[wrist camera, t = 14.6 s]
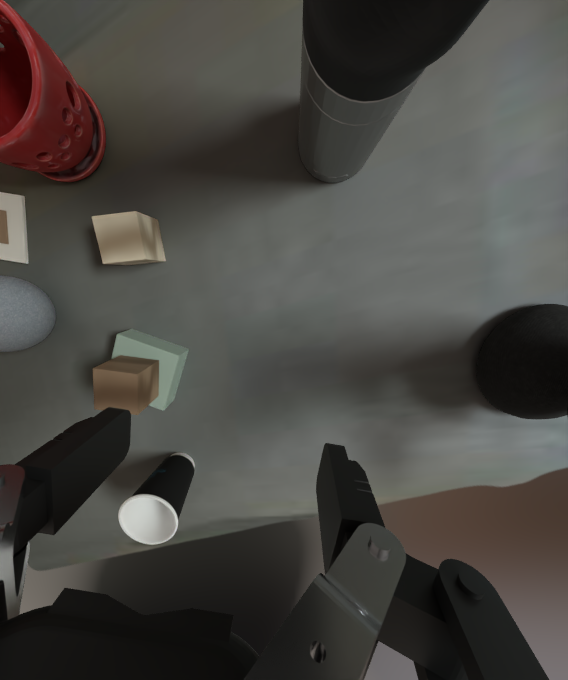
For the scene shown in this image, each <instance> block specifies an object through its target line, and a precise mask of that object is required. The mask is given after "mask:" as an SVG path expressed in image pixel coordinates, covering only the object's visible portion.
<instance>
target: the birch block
mask: <svg viewBox="0 0 568 680" xmlns="http://www.w3.org/2000/svg"><path fill="white" fill-rule="evenodd" d="M92 220H93V225H94V229H95V233H96V237H97V241H98V245H99V249H100V253H101V257H102V262H103V264H114V265H136V264H145V263H154V262H163V261H166V260H165V254H164V249H163V244H162V239H161V234H160V228H159V223H158V220H157V219H154V218H152V217H149V216H147V215H144V214H142V213H139V212H137V211H132V212H124V213H116V214H107V215H99V216H92Z"/></svg>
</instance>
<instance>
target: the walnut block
mask: <svg viewBox="0 0 568 680" xmlns="http://www.w3.org/2000/svg"><path fill="white" fill-rule="evenodd" d="M93 386H94V408H95V409H97V410H105V409H106V408H108V407H113V408H119V409H125V410H129V411H130V413H131V414H135V415H138V414H139V413H140V412H141V411H143V410H144V409H145V408H146V407H147V406H148V405H149V404H150V403H151V402H152V401H154V400H155V399H156V398H157V397H158V396H159V360H154V359H146V358H139V357H131V356H124V355H120V356H118V357H115V358H113V359H111V360H109V361H107V362H105V363H103V364H101V365H99V366H97V367H94V368H93Z"/></svg>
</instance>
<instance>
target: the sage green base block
mask: <svg viewBox="0 0 568 680" xmlns="http://www.w3.org/2000/svg"><path fill="white" fill-rule="evenodd" d="M188 350H189V349H187V348H185V347H182V346H179V345H176V344H173V343H171V342H168V341H165V340H162V339H159V338H156V337H154V336H151V335H148V334H145V333H142V332H140V331H137V330H134V329H130V330H127V331H124V332H121V333H118V334H117V336H116V341H115V345H114V350H113V354H112V359H113V358H115V357H118V356H120V355H124V356H131V357H139V358H146V359H154V360H159V396H158V397H157V398H156V399H155V400H154V401H152V402H151V403H150V404H149V406H152V407H155V408H157V409H160V410H163V411H164V410H165V409H166V408H167V407H168V406H169V405H170V404H171V402H172V401H173V400H174V398H175V395H176V392H177V388H178V385H179V381H180V378H181V374H182V371H183V368H184V364H185V361H186V357H187V354H188Z"/></svg>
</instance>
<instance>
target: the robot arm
mask: <svg viewBox="0 0 568 680" xmlns="http://www.w3.org/2000/svg"><path fill="white" fill-rule="evenodd" d="M488 1H489V0H303V30H302V57H301V61H302V63H301V88H300V113H299V136H298V147H299V153H300V158H301V160H302V162H303V165H304V166H305V168H306V169H307V170H308V172H309V173H310V174H312V175H313V176H314V177H315V178H317V179H319V180H321V181H325V182H330V183H336V182H342V181H344V180H347V179H349V178H351V177H352V176H354V175H355V174H356V173H357V172H358V171H359V170H360V169H361V168H362V167H363V165H364V163H365V162H366V160H367V159H368V157H369V156H370V154H371V153H372V151H373V150H374V148H375V147H376V145H377V144H378V142H379V141H380V139H381V137H382V136H383V134H384V133H385V131H386V130H387V128H388V127H389V125H390V123H391V122H392V120H393V119H394V117H395V116H396V114H397V112H398V111H399V109H400V108H401V106H402V105H403V103H404V102H405V100H406V98H407V97H408V95H409V94H410V92H411V90H412V89H413V87H414V86H415V84H416V82H417V81H418V79H419V78H420V76H421V75H422V73H423V71H424V70H425V68H426V67H427V66H428V65H430V64H432V63H433V62H435V61H436V60H438V59H439V58H440V57H441V56H443V55H444V54H445V53H446V52H447V51H448V50H449V49H451V48H452V46H453V45H454V44H455V43H456V42H457V41H458V40H459V39H460V37H461V36H462V35H463V34H464V32H465V31H466V30H467V28H468V27H469V26H470V25H471V23H472V22H473V21H474V19H475V18H476V17H477V15H478V14H479V13H480V11H481V10H482V9H483V8H484V6H485V5H486V4H487V3H488ZM130 429H131V413H130V411H129V410H125V409H119V408H113V407H108V408H106V409H105V410H103V411H102V412H100V413H99V414H98V415H96V416H95V417H90V418H88V419H85V420H82V421H80V422H77V423H75V424H74V425H72V426H71V427H69V428H68V429H66V430H65V431H64V432H63V433H61V434H59V435H58V436H56V437H55V438H54V439H53V440H50V441H49V442H47V443H46V444H44V445H43V446H41V447H40V448H38V449H37V450H36V451H34V452H33V453H31V454H30V455H28V456H27V457H25V458H24V459H22V460H21V461H19V462H18V463H16V464H15V465H12V464H6V465H0V680H364V678H365V676H366V673H367V670H368V668H369V665H370V662H371V660H372V657H373V654H374V652H375V649H376V646H377V643H378V641H380V642H382V643H383V644H385V645H387V646H389V647H390V648H392V649H394V650H395V651H397V652H399V653H401V654H402V655H404V656H406V657H408V658H409V659H411V660H413V661H414V665H415V668H416V672H417V676H418V680H549V679H548V677H547V675H546V674H545V672H544V670H543V669H542V667H541V665H540V663H539V662H538V660H537V658H536V657H535V655H534V653H533V652H532V650H531V648H530V647H529V645H528V643H527V642H526V640H525V638H524V636H523V635H522V633H521V631H520V630H519V628H518V626H517V625H516V623H515V621H514V620H513V618H512V616H511V615H510V613H509V611H508V610H507V608H506V606H505V605H504V603H503V601H502V599H501V598H500V596H499V595H498V593H497V591H496V590H495V588H494V587H493V586H492V584H491V583H490V582H489V581H488V580H487V579H486V578H485V577H484V576H483V575H482V574H481V573H479V572H478V571H477V570H476V569H474V568H473V567H471V566H469V565H467V564H466V563H463V562H462V561H459V560H455V559H447V560H444V561H443V562H442V563H441V564H440V566H439V569H436V568H434V567H432V566H430V565H427V564H425V563H423V562H421V561H419V560H417V559H415V558H413V557H411V556H409V555H408V554H406V553H405V550H404V548H403V546H402V544H401V543H400V541H399V540H398V539H397V537H396V536H395V535H394V534H393V533H391V532H390V531H389V530H387V529H386V528H385V526H384V523H383V520H382V517H381V515H380V512H379V509H378V506H377V504H376V501H375V498H374V495H373V494H372V490H371V487H370V484H369V482H368V479H367V476H366V473H365V471H364V470H363V469H362V467H361V466H360V465H359V464H358V463H357V462H356V461H351V460H348V457H347V453H346V450H345V447H344V446H341V445H335V444H329V443H325V445H324V449H323V453H322V458H321V462H320V467H319V471H318V476H317V484H316V493H317V503H318V512H319V521H320V531H321V540H322V550H323V559H324V569H325V576H324V575H323V574H322V573H320V574H319V575H317V577H316V578H315V579H314V580H313V582H312V583H311V584H310V586H309V587H308V589H307V590H306V592H305V593H304V594H303V596H302V597H301V599H300V600H299V602H298V603H297V604H296V606H295V607H294V609H293V610H292V611H291V613H290V614H289V616H288V617H287V619H286V620H285V621H284V623H283V624H282V626H281V627H280V628H279V630H278V631H277V633H276V634H275V636H274V637H273V638H272V640H271V641H270V643H269V644H268V645H267V647H266V648H265V650H264V651H263V653H262V654H261V655H260V657H259V656H258V654H257V653H256V652H255V651H254V650H253V649H252V647H251V646H249V644H248V643H246V642H245V641H244V640H243V639H241V638H240V637H239V636H237V635H235V634H233V633H232V632H231V627H232V620H233V615H230V614H224V613H217V612H212V611H205V610H199V609H193V608H191V609H184V610H178V611H170V612H164V613H157V614H150V615H143V614H140V613H138V612H136V611H134V610H132V609H131V608H129V607H127V606H126V605H124V604H122V603H120V602H119V601H117V600H115V599H113V598H112V597H110V596H108V595H106V594H100V593H93V592H87V591H82V590H75V589H68V588H64V590H63V591H62V592H61V594H60V595H59V597H58V598H57V599H56V601H55V602H54V603H53V605H51V606H46V607H42V608H38V609H34V610H31V611H29V612H26V613H23V614H20V615H19V613H20V605H21V599H22V593H23V587H24V581H25V575H26V569H27V563H28V557H29V551H30V540H31V539H32V538H33V537H34V536H35V535H36V534H37V533H44V534H50V535H55V534H56V533H57V532H58V530H59V529H60V528H61V527H62V526H63V525H64V524H65V523H66V522H67V521H68V520H69V518H70V517H71V516H72V515H73V514H74V513H75V512H76V511H77V510H78V509H79V508H80V506H81V505H82V504H83V503H84V502H85V501H86V500H87V499H88V498H89V497H90V496H91V495H92V493H93V492H94V491H95V490H96V489H97V488H98V487H99V486H100V485H101V484H102V483H103V481H104V480H105V479H106V478H107V477H108V476H109V475H110V474H111V473H112V472H113V471H114V470H115V468H116V467H117V466H118V465H119V464H120V463H121V462H122V461H123V460H124V458H125V457H126V455H127V453H128V450H129V446H130Z"/></svg>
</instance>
